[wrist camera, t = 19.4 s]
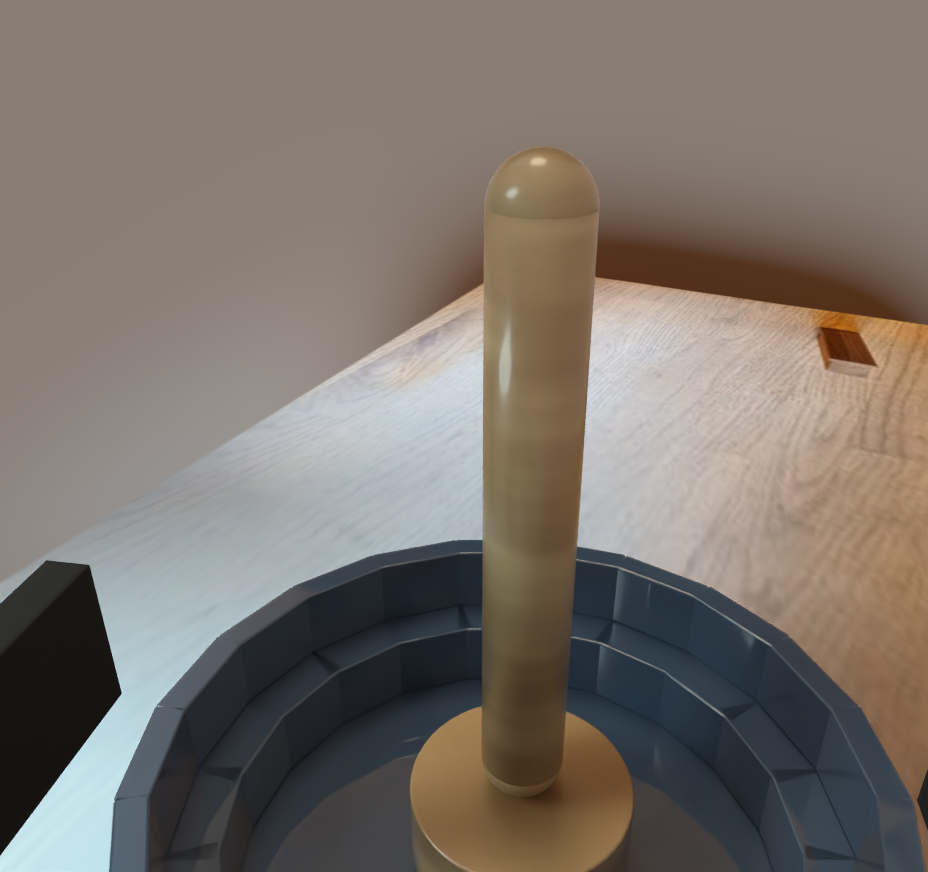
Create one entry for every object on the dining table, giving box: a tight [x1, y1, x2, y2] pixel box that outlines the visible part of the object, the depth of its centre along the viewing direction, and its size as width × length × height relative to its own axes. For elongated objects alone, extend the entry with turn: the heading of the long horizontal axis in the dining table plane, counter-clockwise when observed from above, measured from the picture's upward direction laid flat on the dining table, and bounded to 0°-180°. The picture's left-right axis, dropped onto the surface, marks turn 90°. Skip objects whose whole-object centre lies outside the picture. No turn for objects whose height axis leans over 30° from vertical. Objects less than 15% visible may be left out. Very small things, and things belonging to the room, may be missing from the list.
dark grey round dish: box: [109, 540, 926, 872], centre depth 21 cm, size 18×18×5 cm
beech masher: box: [409, 146, 634, 872], centre depth 18 cm, size 6×6×18 cm
